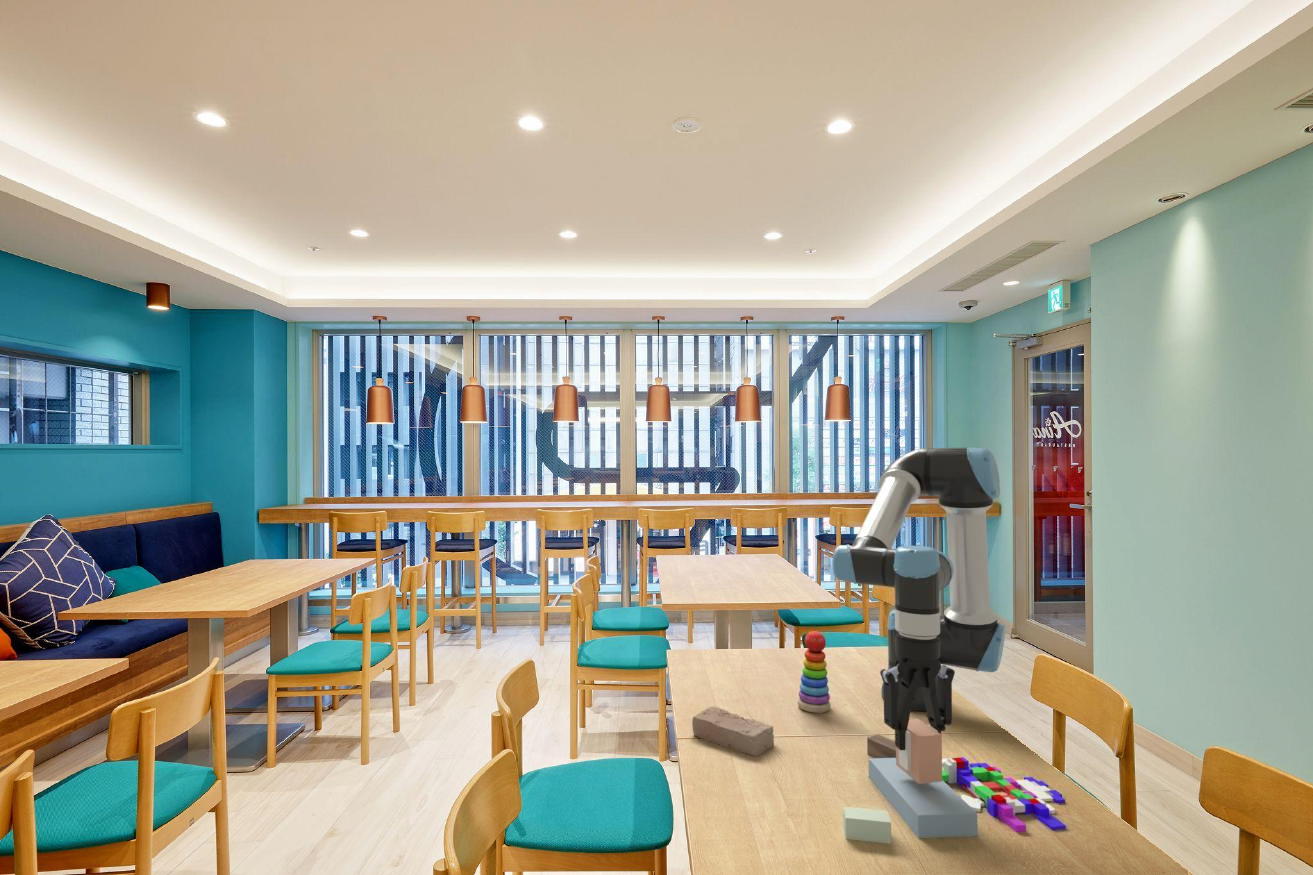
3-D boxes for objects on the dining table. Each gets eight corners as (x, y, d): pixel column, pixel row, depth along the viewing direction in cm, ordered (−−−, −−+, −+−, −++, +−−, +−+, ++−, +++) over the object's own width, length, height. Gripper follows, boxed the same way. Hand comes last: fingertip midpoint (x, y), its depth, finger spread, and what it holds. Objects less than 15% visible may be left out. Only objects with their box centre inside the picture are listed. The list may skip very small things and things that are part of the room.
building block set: (1103, 829, 108) (1103, 801, 108) (991, 838, 105) (990, 810, 105) (1003, 760, 132) (1003, 738, 133) (910, 766, 130) (909, 743, 130)
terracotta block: (918, 762, 118) (917, 718, 119) (942, 781, 112) (941, 734, 112) (896, 764, 118) (895, 720, 118) (918, 783, 111) (918, 736, 111)
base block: (918, 778, 125) (918, 757, 125) (977, 838, 105) (977, 813, 105) (868, 779, 124) (868, 758, 124) (918, 840, 104) (918, 815, 104)
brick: (775, 745, 138) (775, 722, 139) (755, 758, 132) (755, 735, 132) (712, 725, 149) (712, 704, 149) (690, 737, 142) (690, 715, 143)
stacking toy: (794, 711, 156) (794, 633, 157) (800, 699, 164) (800, 625, 165) (828, 716, 153) (828, 636, 154) (832, 704, 161) (832, 628, 162)
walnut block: (878, 750, 136) (878, 734, 136) (907, 764, 130) (907, 746, 130) (867, 754, 134) (867, 737, 134) (896, 768, 128) (896, 750, 128)
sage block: (843, 827, 107) (843, 806, 107) (887, 832, 106) (887, 810, 106) (845, 839, 104) (845, 817, 104) (891, 844, 102) (891, 822, 103)
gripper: (947, 626, 121) (948, 752, 120) (861, 630, 117) (862, 760, 117) (974, 636, 113) (976, 771, 113) (883, 641, 110) (884, 780, 109)
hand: (918, 765), depth 115 cm, fingers closed on terracotta block, 4 cm apart
